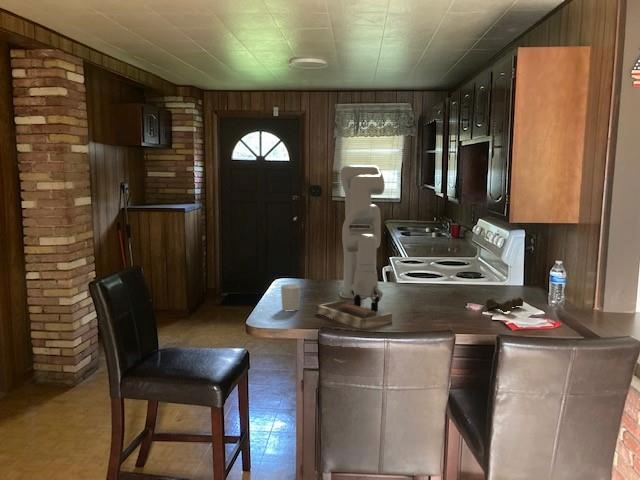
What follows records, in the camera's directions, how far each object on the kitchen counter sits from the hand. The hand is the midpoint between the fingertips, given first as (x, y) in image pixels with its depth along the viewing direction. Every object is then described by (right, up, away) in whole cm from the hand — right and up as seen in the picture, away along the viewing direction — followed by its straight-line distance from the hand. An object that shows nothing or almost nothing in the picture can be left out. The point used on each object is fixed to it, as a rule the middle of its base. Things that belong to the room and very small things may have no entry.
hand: (365, 309), depth 211 cm
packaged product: (-3, -4, -4) cm, 6 cm away
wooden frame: (-5, -3, -4) cm, 7 cm away
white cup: (-31, -1, +7) cm, 32 cm away
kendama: (+59, -2, +9) cm, 60 cm away
